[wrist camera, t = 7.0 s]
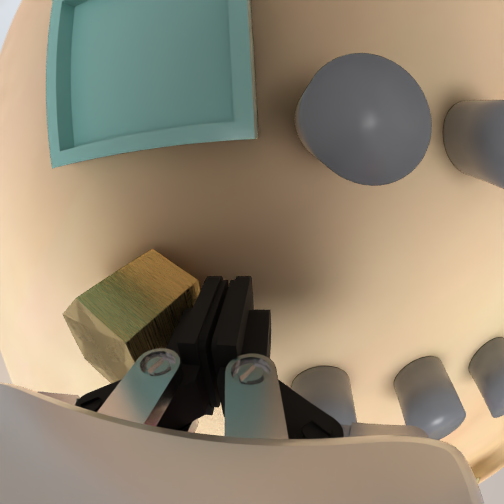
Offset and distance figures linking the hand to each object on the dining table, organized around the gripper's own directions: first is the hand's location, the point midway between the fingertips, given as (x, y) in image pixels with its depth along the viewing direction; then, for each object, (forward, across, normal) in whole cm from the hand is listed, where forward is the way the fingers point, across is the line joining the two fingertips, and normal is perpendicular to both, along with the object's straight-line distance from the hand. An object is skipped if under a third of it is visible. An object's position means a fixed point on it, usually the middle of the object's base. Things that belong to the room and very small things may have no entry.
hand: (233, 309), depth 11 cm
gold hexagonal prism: (+1, +3, 0) cm, 3 cm away
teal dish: (+1, +3, -10) cm, 11 cm away
